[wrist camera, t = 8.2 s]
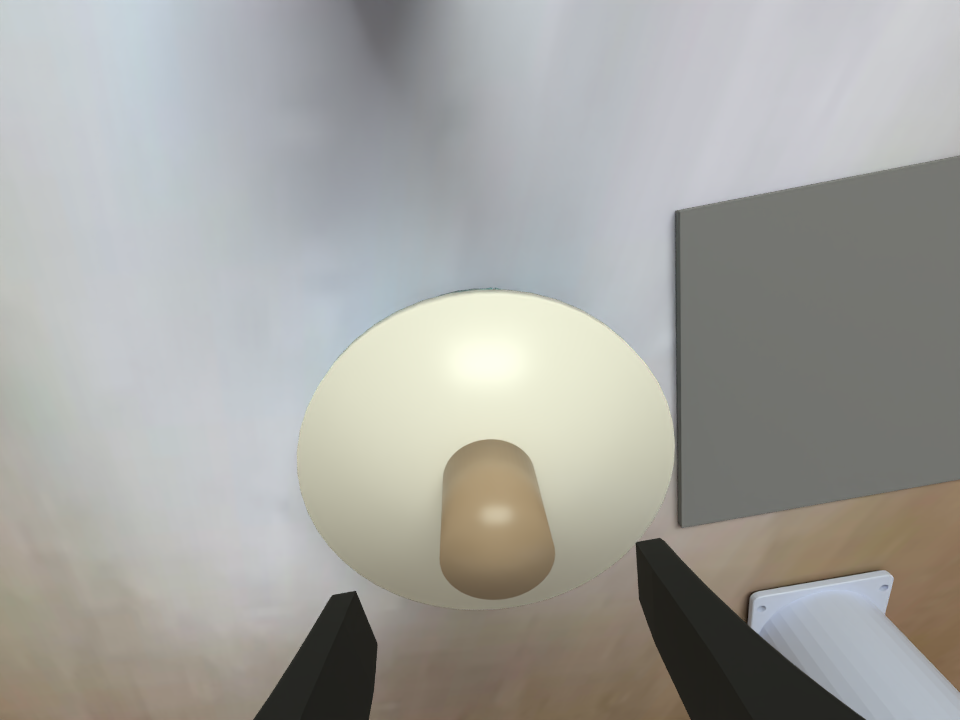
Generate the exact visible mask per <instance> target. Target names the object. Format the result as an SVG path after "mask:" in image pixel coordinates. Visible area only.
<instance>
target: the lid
mask: <svg viewBox="0 0 960 720" xmlns="http://www.w3.org/2000/svg"><path fill="white" fill-rule="evenodd" d="M674 452H675V439H674V430H673V422H672V418H671V414H670V411H669V407H668V403H667V401H666V398H665V396H664V394H663V392H662V390H661V387H660V385H659V383H658V381H657V380H656V378H655V377H654V375H653V374H652V372H651V371H650V369H649V368H648V366H647V365H646V363H645V362H644V361H643V360H642V359H641V358H640V357H639V356H638V355H637V354H636V352H635V351H634V350H633V349H632V348H631V347H630V346H629V345H628V344H627V343H626V342H625V341H624V340H623V339H622V338H621V337H620V336H619V335H618V334H616V333H615V332H614V331H613V330H611V329H610V328H609V327H608V326H606V325H605V324H604V323H603V322H601V321H599V320H598V319H596V318H594V317H593V316H591V315H589V314H588V313H586V312H584V311H582V310H581V309H578V308H576V307H574V306H571V305H569V304H566V303H564V302H561V301H559V300H556V299H553V298H549V297H545V296H541V295H537V294H533V293H528V292H520V291H512V290H470V291H463V292H456V293H449V294H445V295H441V296H438V297H434V298H430V299H426V300H423V301H420V302H418V303H415V304H413V305H411V306H408V307H406V308H403V309H401V310H399V311H397V312H395V313H393V314H391V315H390V316H388V317H386V318H385V319H383V320H381V321H379V322H378V323H376V324H374V325H373V326H372V327H371V328H369V329H368V330H367V331H366V332H364V333H363V334H362V335H360V336H359V337H358V338H357V339H355V340H354V341H353V342H352V343H351V344H350V345H349V346H348V348H347V349H346V350H345V351H344V352H343V353H342V354H341V355H340V356H339V357H338V358H337V359H336V361H335V362H334V364H333V365H332V367H331V368H330V369H329V371H328V372H327V374H326V375H325V376H324V378H323V380H322V381H321V383H320V384H319V386H318V387H317V389H316V391H315V393H314V395H313V397H312V399H311V401H310V403H309V405H308V407H307V410H306V413H305V416H304V419H303V422H302V426H301V429H300V434H299V441H298V448H297V473H298V479H299V484H300V490H301V494H302V497H303V500H304V503H305V506H306V508H307V511H308V514H309V515H310V517H311V519H312V521H313V523H314V525H315V527H316V529H317V530H318V532H319V533H320V535H321V536H322V537H323V539H324V540H325V541H326V543H327V544H328V545H329V547H330V548H331V549H332V550H333V551H334V552H335V553H336V554H337V555H338V556H339V557H340V558H341V559H342V560H343V561H344V562H345V563H346V564H347V565H349V566H350V567H351V568H352V569H354V570H355V571H356V572H357V573H358V574H360V575H361V576H363V577H365V578H366V579H368V580H369V581H371V582H373V583H374V584H376V585H378V586H380V587H382V588H384V589H386V590H388V591H390V592H392V593H394V594H396V595H399V596H402V597H405V598H408V599H410V600H413V601H416V602H420V603H424V604H428V605H432V606H438V607H444V608H451V609H462V610H496V609H505V608H512V607H519V606H524V605H528V604H532V603H537V602H540V601H544V600H547V599H550V598H553V597H556V596H559V595H561V594H563V593H566V592H568V591H570V590H572V589H575V588H577V587H579V586H581V585H583V584H584V583H586V582H588V581H590V580H591V579H593V578H595V577H597V576H598V575H599V574H601V573H602V572H604V571H605V570H607V569H608V568H609V567H611V566H612V565H614V564H615V563H616V562H617V561H618V560H619V559H620V558H621V557H623V556H624V555H625V554H626V553H627V552H628V551H629V550H630V549H631V548H632V547H633V546H634V545H635V544H636V542H637V541H638V540H639V539H640V538H641V537H642V536H643V534H644V533H645V531H646V530H647V528H648V527H649V526H650V524H651V523H652V521H653V520H654V518H655V516H656V514H657V512H658V511H659V509H660V507H661V505H662V503H663V501H664V498H665V495H666V492H667V490H668V487H669V484H670V480H671V475H672V470H673V465H674Z"/></svg>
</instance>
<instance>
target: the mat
mask: <svg viewBox="0 0 960 720" xmlns="http://www.w3.org/2000/svg"><path fill="white" fill-rule="evenodd" d="M676 316H677V429H678V523H679V524H680V526H681V527H682V528H684V527H690V526H696V525H702V524H707V523H713V522H719V521H724V520H730V519H736V518H742V517H747V516H753V515H759V514H765V513H770V512H776V511H782V510H787V509H793V508H799V507H805V506H810V505H816V504H822V503H827V502H833V501H839V500H845V499H850V498H856V497H862V496H867V495H873V494H879V493H885V492H890V491H896V490H902V489H907V488H913V487H919V486H925V485H930V484H936V483H942V482H948V481H953V480H959V479H960V156H956V157H950V158H945V159H940V160H935V161H930V162H925V163H919V164H914V165H909V166H904V167H899V168H894V169H888V170H883V171H878V172H873V173H868V174H863V175H857V176H852V177H847V178H842V179H837V180H832V181H827V182H821V183H816V184H811V185H806V186H801V187H796V188H790V189H785V190H780V191H775V192H770V193H765V194H759V195H754V196H749V197H744V198H739V199H734V200H728V201H723V202H718V203H713V204H708V205H703V206H698V207H692V208H687V209H682V210H677V211H676Z"/></svg>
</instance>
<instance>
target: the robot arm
mask: <svg viewBox="0 0 960 720" xmlns="http://www.w3.org/2000/svg"><path fill="white" fill-rule="evenodd" d="M636 555H637V572H638V589H639V600H640V603H641V606H642V609H643V612H644V615H645V617H646V620H647V623H648V626H649V628H650V631H651V634H652V637H653V639H654V642H655V644H656V647H657V649H658V651H659V653H660V655H661V657H662V659H663V662H664V664H665V666H666V668H667V670H668V672H669V674H670V676H671V679H672V681H673V683H674V685H675V687H676V689H677V691H678V693H679V695H680V698H681V700H682V702H683V704H684V706H685V708H686V710H687V712H688V714H689V717H690V719H691V720H960V693H959V691H958V690H957V689H956V688H955V687H954V686H953V685H952V684H951V683H950V682H949V681H948V680H947V679H946V678H945V677H944V676H943V675H942V674H941V673H940V672H939V671H938V670H937V669H936V668H935V667H934V666H933V664H932V663H931V662H930V661H929V660H928V659H927V658H926V657H925V656H924V655H923V654H922V653H921V652H920V651H919V650H918V649H917V648H916V647H915V646H914V645H913V644H912V643H911V642H910V641H909V640H908V639H907V637H906V636H905V635H904V634H903V633H902V632H901V631H900V630H899V629H898V628H897V627H896V626H895V625H894V624H893V623H892V622H891V621H890V620H889V619H888V618H887V617H886V616H885V611H886V607H887V604H888V600H889V596H890V592H891V588H892V584H893V576H892V575H891V574H890V573H889V572H887V571H885V570H880V571H874V572H869V573H863V574H857V575H851V576H845V577H839V578H833V579H827V580H822V581H816V582H810V583H804V584H798V585H792V586H786V587H780V588H775V589H769V590H763V591H758V592H755V593H753V594H752V595H751V597H750V601H749V614H748V624H746V623H745V622H744V621H743V620H742V619H741V618H740V617H739V616H738V615H737V614H736V613H735V612H733V611H732V610H731V609H730V608H729V607H728V606H727V605H726V604H725V603H724V602H723V601H722V600H721V599H720V598H719V597H718V596H717V595H715V594H714V593H713V592H712V591H711V590H710V589H709V588H708V587H707V586H706V585H705V584H704V583H703V582H702V581H701V580H700V579H699V578H698V577H697V575H696V574H695V573H694V572H693V571H692V570H691V569H690V568H689V567H688V566H687V565H686V564H685V563H684V562H683V561H682V560H681V559H680V558H679V557H678V556H677V554H676V553H675V552H674V551H673V550H672V549H671V548H670V547H669V546H668V545H667V543H666V542H665V541H664V540H662V539H661V538H657V539H652V540H646V541H640V542H636ZM376 658H377V642H376V639H375V637H374V634H373V632H372V629H371V627H370V624H369V622H368V620H367V617H366V615H365V612H364V610H363V607H362V605H361V602H360V600H359V598H358V595H357V593H356V591H353V592H347V593H341V594H336V595H332V597H331V598H330V599H329V601H328V603H327V604H326V606H325V608H324V609H323V611H322V613H321V614H320V616H319V618H318V619H317V621H316V623H315V624H314V626H313V628H312V629H311V631H310V633H309V634H308V636H307V638H306V639H305V641H304V642H303V644H302V646H301V647H300V649H299V651H298V652H297V654H296V656H295V657H294V659H293V660H292V662H291V663H290V665H289V667H288V668H287V670H286V671H285V673H284V674H283V676H282V678H281V679H280V681H279V682H278V684H277V685H276V687H275V689H274V690H273V692H272V693H271V695H270V696H269V698H268V699H267V701H266V702H265V703H264V705H263V706H262V708H261V709H260V711H259V712H258V714H257V715H256V717H255V718H254V719H253V720H369V715H370V709H371V704H372V698H373V692H374V683H375V672H376Z"/></svg>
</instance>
